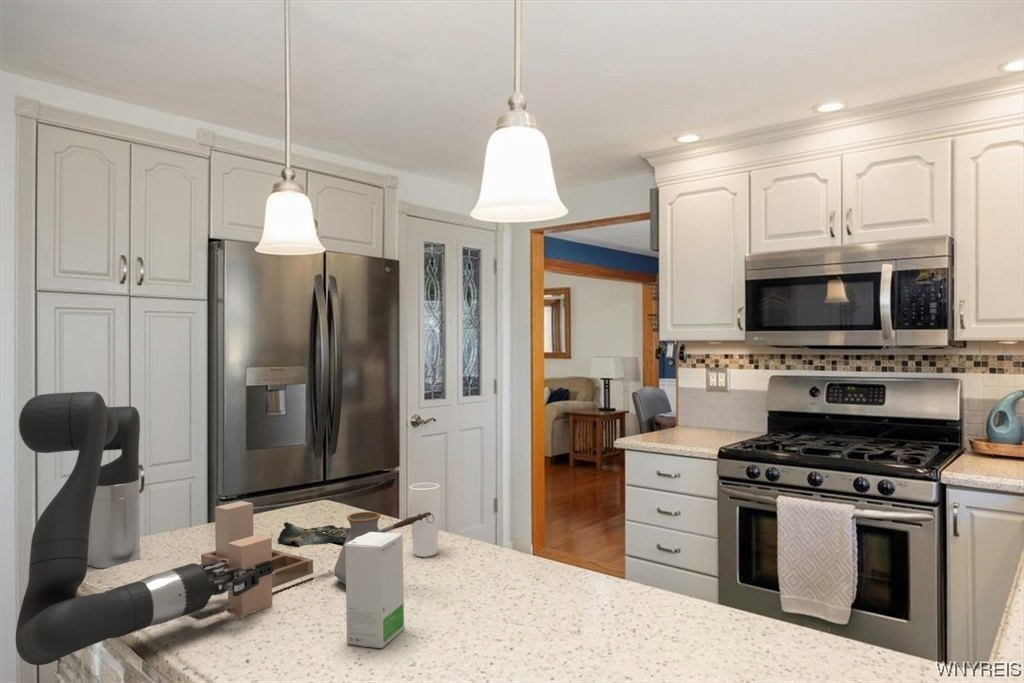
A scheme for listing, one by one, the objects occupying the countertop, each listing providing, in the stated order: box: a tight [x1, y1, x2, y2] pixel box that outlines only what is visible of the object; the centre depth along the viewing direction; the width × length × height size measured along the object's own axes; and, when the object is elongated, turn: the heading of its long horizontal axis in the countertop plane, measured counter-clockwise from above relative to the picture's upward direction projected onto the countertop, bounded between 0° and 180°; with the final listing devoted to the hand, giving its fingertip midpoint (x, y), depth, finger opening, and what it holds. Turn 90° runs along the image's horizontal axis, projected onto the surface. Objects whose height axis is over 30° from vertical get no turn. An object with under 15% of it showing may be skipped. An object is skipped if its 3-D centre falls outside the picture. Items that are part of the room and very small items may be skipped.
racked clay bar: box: [214, 500, 254, 559], centre depth 138 cm, size 4×6×12 cm, turn 146°
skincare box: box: [345, 532, 405, 649], centre depth 107 cm, size 8×7×16 cm
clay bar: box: [227, 534, 273, 617], centre depth 119 cm, size 4×6×12 cm, turn 146°
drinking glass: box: [408, 482, 441, 558], centre depth 148 cm, size 7×7×15 cm
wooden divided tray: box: [200, 549, 314, 596], centre depth 134 cm, size 22×10×4 cm, turn 56°
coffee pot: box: [333, 511, 434, 586], centre depth 129 cm, size 21×12×15 cm, turn 65°
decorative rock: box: [277, 521, 351, 548], centre depth 158 cm, size 19×6×15 cm
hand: (263, 564), depth 121 cm, fingers closed on clay bar, 4 cm apart
